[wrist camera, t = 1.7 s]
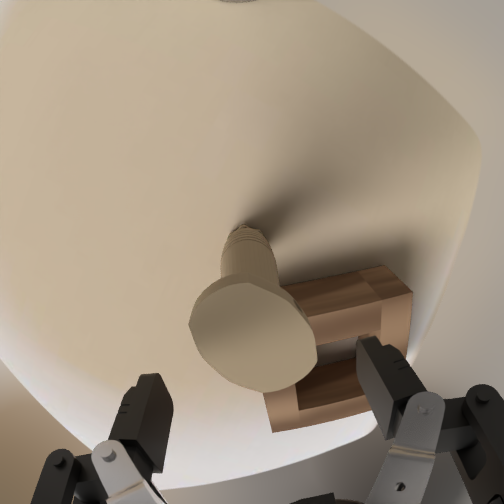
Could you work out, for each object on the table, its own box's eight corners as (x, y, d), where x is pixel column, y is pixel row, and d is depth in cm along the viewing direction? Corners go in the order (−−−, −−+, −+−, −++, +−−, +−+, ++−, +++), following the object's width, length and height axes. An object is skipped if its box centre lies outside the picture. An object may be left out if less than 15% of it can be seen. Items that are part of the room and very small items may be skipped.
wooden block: (245, 293, 29) (247, 328, 24) (384, 265, 29) (412, 292, 23) (267, 394, 34) (272, 432, 28) (380, 368, 34) (398, 401, 28)
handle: (245, 195, 26) (256, 261, 12) (289, 252, 28) (336, 358, 14) (201, 230, 27) (167, 325, 13) (246, 282, 29) (256, 404, 15)
